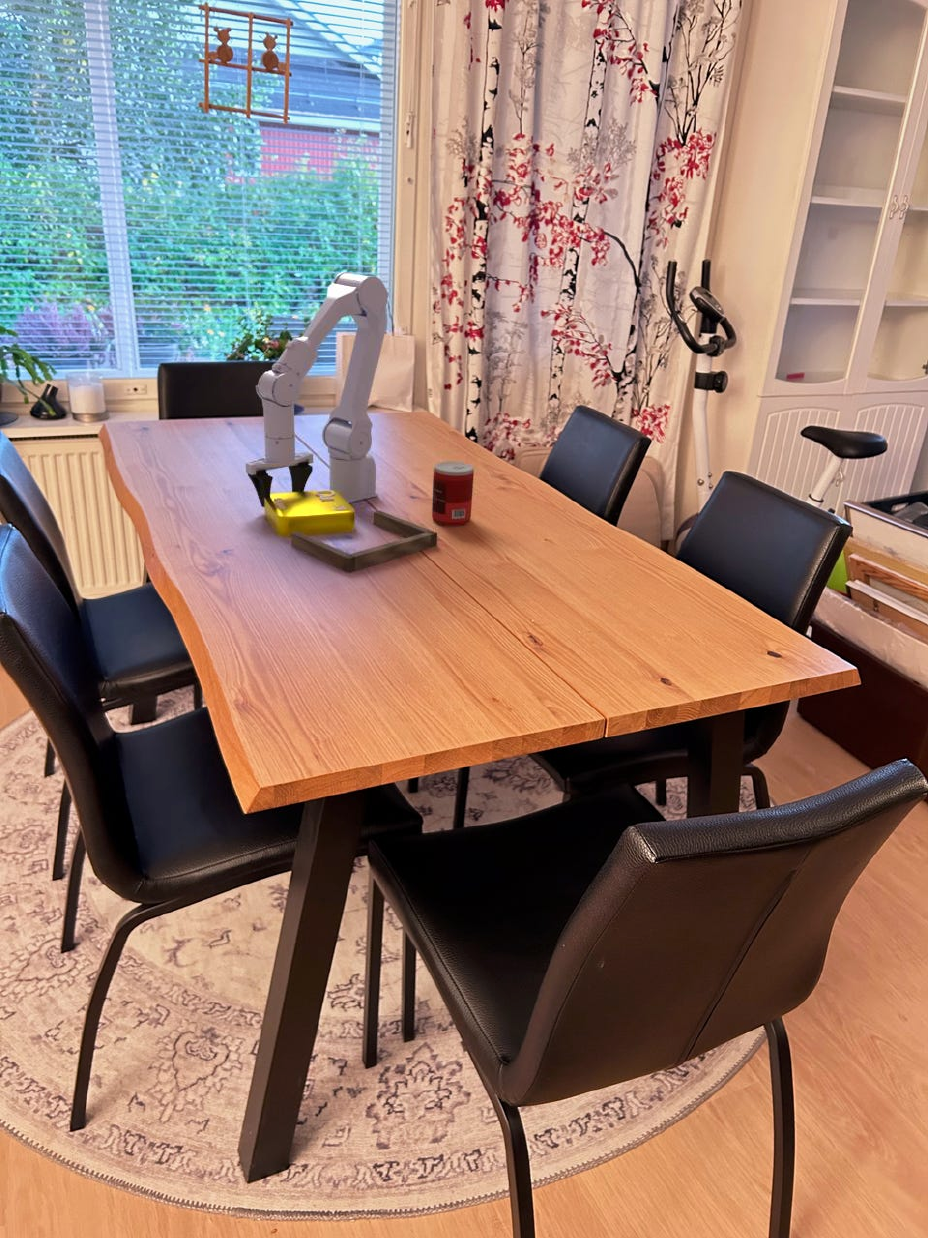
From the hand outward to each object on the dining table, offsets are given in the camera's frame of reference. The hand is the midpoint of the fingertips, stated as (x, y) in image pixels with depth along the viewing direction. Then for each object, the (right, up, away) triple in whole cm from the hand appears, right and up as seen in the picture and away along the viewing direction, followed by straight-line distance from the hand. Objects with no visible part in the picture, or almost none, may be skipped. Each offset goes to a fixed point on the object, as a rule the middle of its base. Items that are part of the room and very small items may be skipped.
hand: (281, 503), depth 178 cm
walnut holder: (+18, -9, -14) cm, 25 cm away
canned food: (+34, -3, +1) cm, 34 cm away
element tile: (+6, -5, -4) cm, 9 cm away
